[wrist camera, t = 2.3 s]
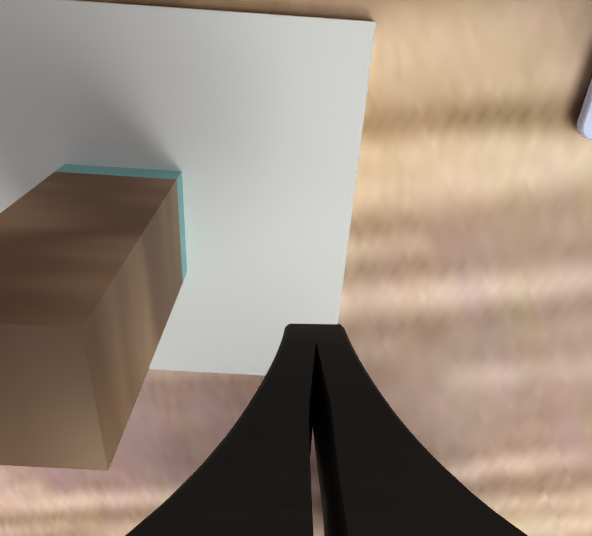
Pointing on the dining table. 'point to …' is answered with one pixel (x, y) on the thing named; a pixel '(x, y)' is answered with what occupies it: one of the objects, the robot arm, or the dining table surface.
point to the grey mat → (203, 150)
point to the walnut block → (84, 308)
